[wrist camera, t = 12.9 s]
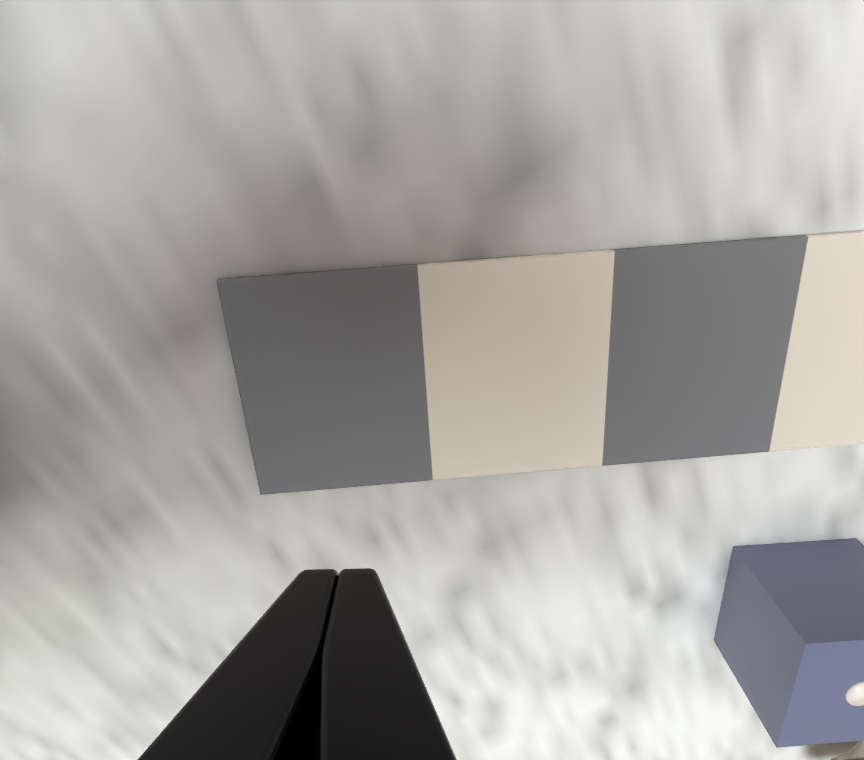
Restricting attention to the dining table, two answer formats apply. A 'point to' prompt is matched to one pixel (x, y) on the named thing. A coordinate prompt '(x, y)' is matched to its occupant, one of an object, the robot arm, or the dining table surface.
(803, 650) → the die
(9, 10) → the dining table surface
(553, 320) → the board
